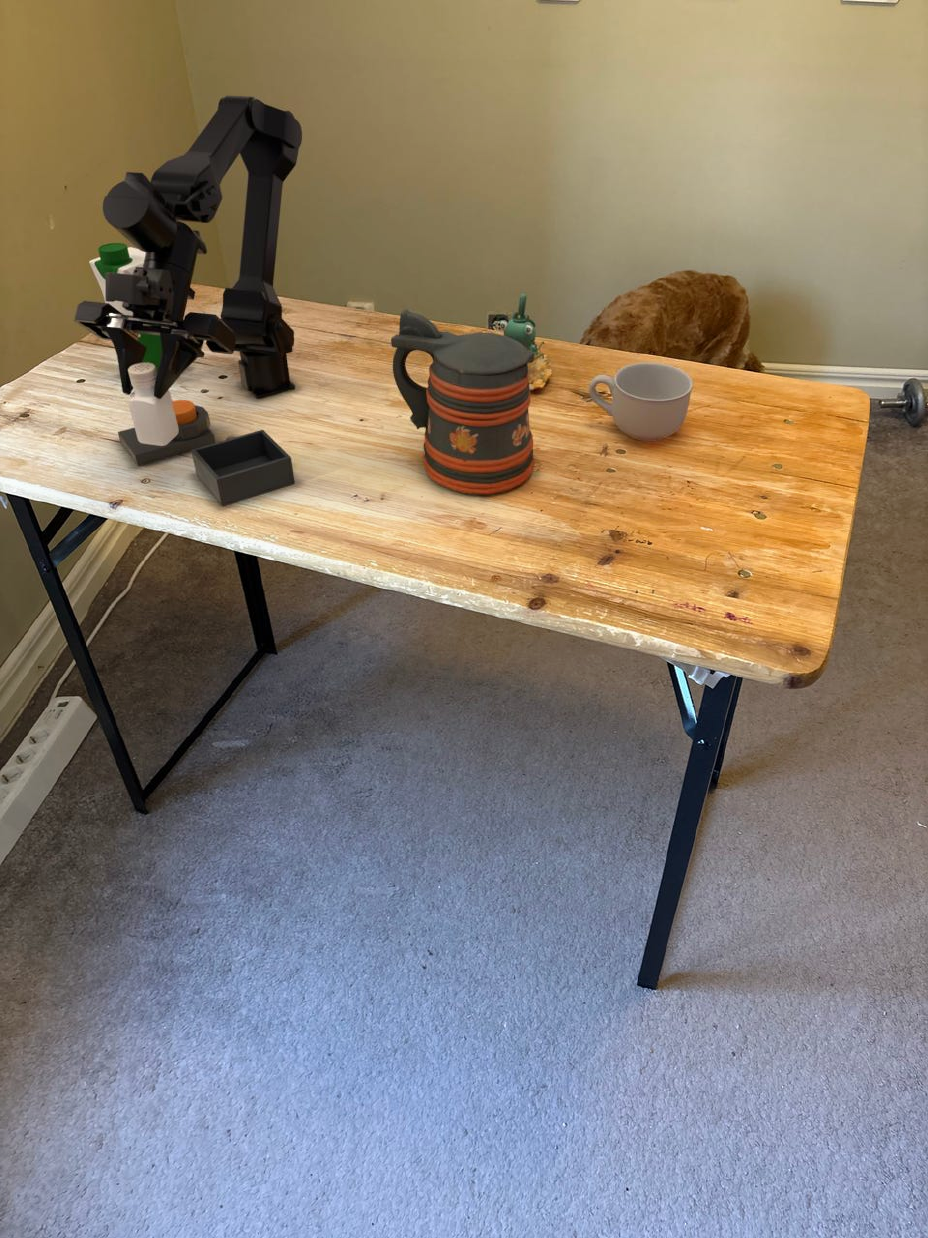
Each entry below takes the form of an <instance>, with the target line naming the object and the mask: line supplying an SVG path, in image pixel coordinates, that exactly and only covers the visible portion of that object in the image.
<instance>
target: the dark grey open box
mask: <svg viewBox="0 0 928 1238" xmlns="http://www.w3.org/2000/svg"><path fill="white" fill-rule="evenodd" d="M190 453H191V456H192V460H193V465H194V469H195V473H196V477H197V479H198V480H199V481H200V482H201V483H202V484H203V485H204V487H205V488H206V489H207V491H208V492H209V493H210V494H211V496H212V497H213V498H214V500H215V501H216V502H218V504H219V505H220V507H222V508H223V507H226V506H229V505H233V504H236V503H239V502H241V501H245V500H248V499H252V498H255V497H257V496H261V495H264V494H267V493H271V492H274V491H277V490H280V489H283V488H285V487H290V486H294V485H295V484H296V482H295V475H294V469H293V462H292V456H290V455H289V454H288V453H287V452H286V451H285V449H283V448H282V447H281V445H279V444H278V443H277V441H275V439H273V438H272V437H271V436H270V435H269V434H268V432H266V431H265V430H264V429H260V430H256V431H252V432H249V433H246V434H243V435H239V436H235V437H232V438H229V439H225V440H221V441H217V442H215V443H214V444H210V445H207V446H203V447H200V448H196V449H193V450H191V451H190Z"/></svg>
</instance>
